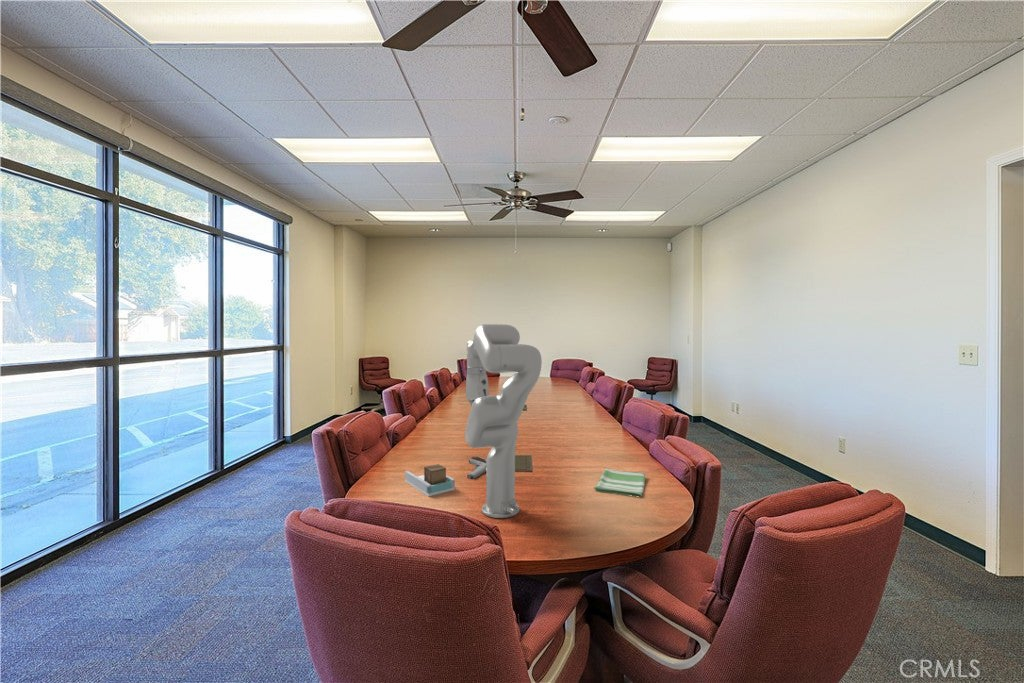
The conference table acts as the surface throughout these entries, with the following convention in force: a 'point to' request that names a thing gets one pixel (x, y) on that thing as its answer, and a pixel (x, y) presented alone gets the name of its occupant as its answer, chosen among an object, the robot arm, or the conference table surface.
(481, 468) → the pistol
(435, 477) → the block
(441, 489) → the bay
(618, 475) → the dish towel
